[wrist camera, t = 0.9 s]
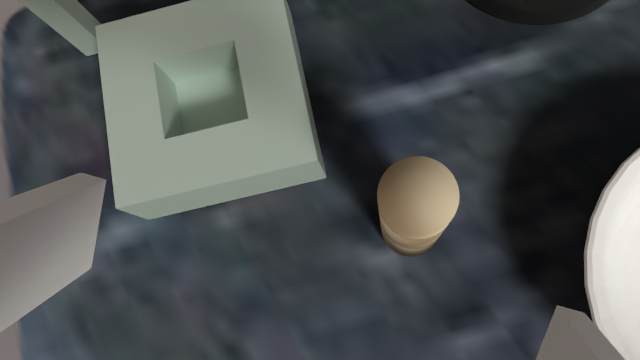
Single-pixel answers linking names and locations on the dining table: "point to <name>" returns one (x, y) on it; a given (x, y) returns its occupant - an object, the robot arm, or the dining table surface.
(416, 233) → the dowel
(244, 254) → the dining table surface
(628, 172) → the bowl
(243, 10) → the socket
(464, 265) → the dining table surface
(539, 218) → the dining table surface
